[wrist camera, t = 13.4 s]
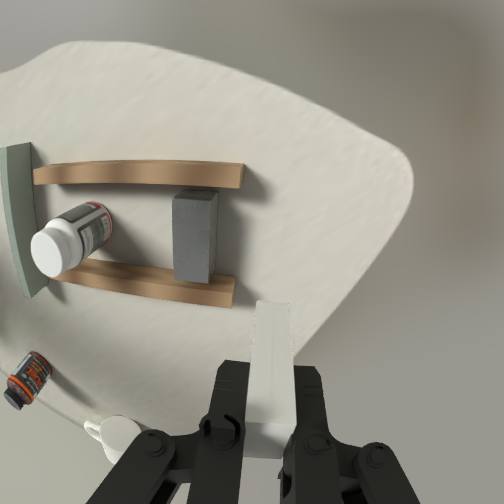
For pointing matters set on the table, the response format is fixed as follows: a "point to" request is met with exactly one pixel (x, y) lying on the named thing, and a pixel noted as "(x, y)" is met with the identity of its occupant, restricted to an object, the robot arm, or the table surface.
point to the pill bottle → (71, 238)
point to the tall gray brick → (194, 235)
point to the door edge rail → (20, 214)
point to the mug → (114, 435)
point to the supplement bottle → (27, 380)
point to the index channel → (135, 276)
